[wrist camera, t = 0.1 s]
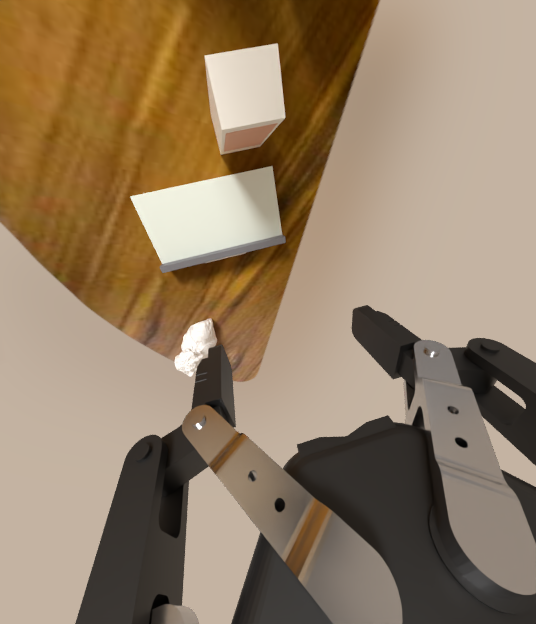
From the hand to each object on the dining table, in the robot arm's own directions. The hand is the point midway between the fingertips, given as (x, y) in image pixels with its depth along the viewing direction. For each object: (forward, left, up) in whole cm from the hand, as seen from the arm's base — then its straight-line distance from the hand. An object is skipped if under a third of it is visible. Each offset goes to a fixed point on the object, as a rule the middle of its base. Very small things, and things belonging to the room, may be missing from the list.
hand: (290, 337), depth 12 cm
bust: (+17, -14, -29) cm, 37 cm away
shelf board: (-4, -4, -29) cm, 30 cm away
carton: (-15, +3, -29) cm, 33 cm away
